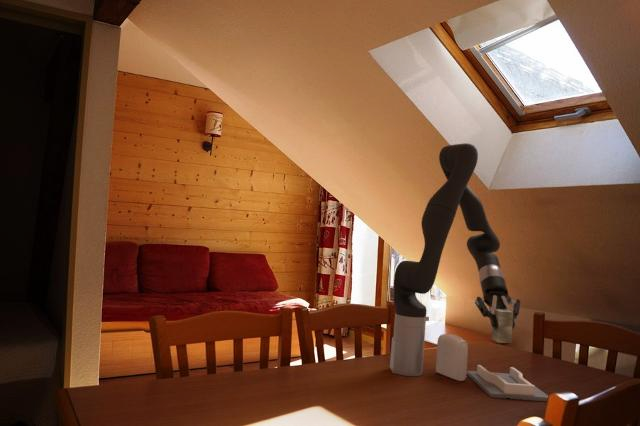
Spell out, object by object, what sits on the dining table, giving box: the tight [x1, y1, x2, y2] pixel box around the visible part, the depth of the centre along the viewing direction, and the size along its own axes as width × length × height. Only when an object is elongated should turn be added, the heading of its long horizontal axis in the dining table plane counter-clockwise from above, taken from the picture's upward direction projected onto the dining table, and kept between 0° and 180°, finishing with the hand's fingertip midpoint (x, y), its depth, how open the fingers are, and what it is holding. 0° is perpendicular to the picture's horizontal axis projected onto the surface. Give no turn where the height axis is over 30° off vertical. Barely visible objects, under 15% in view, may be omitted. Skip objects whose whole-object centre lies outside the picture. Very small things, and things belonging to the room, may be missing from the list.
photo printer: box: [435, 333, 469, 382], centre depth 157 cm, size 10×4×12 cm, turn 29°
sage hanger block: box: [491, 309, 513, 344], centre depth 156 cm, size 4×5×9 cm
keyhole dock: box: [466, 364, 549, 402], centre depth 150 cm, size 16×22×4 cm
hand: (504, 328), depth 155 cm, fingers closed on sage hanger block, 4 cm apart
